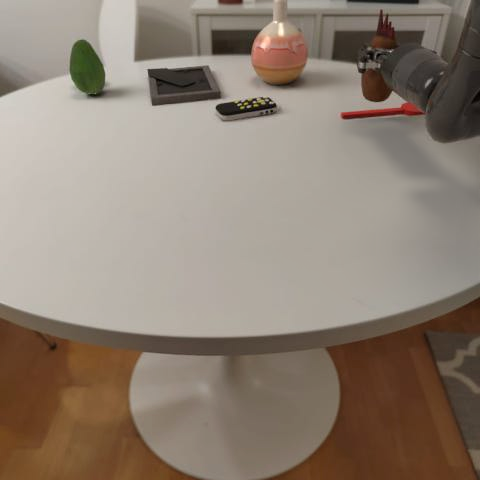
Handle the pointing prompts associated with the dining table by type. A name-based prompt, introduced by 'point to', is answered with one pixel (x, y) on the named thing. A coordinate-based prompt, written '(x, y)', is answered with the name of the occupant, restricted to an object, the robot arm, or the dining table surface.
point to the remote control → (245, 108)
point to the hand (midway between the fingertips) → (377, 48)
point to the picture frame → (182, 85)
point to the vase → (279, 49)
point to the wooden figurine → (373, 80)
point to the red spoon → (384, 112)
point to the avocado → (86, 68)
